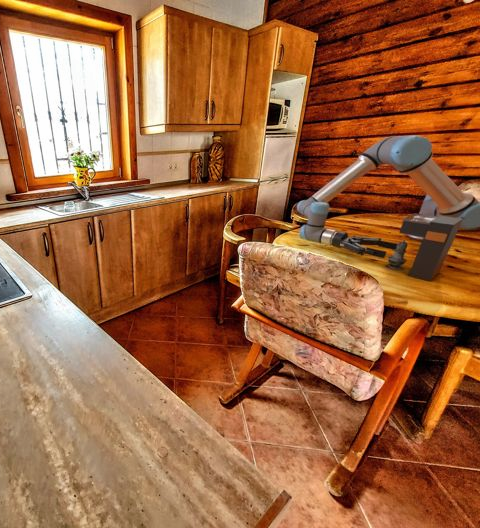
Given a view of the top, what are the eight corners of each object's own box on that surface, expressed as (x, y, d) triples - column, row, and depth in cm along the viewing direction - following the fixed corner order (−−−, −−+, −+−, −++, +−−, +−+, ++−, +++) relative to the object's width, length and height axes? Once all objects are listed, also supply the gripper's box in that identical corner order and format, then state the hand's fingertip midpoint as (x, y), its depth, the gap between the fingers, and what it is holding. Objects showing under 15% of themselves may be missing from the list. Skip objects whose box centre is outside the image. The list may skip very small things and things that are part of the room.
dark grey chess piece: (407, 270, 113) (418, 242, 108) (390, 269, 114) (400, 242, 109) (397, 264, 118) (407, 237, 113) (381, 263, 119) (391, 237, 114)
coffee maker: (396, 262, 120) (414, 212, 111) (439, 272, 110) (463, 218, 101) (384, 270, 114) (403, 218, 105) (428, 281, 104) (453, 225, 95)
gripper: (345, 240, 139) (400, 252, 123) (319, 252, 128) (376, 266, 111) (349, 226, 136) (406, 236, 120) (323, 236, 125) (382, 249, 108)
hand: (391, 251), depth 115 cm, fingers open, 13 cm apart
